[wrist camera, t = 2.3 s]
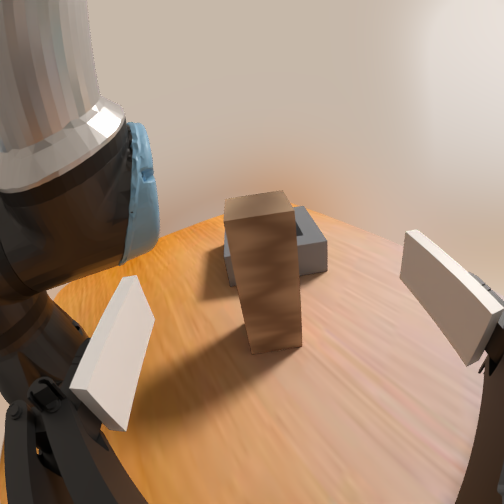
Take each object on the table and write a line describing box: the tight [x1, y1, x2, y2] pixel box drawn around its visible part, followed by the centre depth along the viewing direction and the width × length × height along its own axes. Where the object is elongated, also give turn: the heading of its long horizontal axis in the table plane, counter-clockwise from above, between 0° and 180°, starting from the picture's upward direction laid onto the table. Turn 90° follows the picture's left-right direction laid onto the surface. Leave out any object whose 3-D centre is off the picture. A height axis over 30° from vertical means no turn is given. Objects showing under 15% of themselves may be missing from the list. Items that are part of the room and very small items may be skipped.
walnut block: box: [224, 191, 302, 354], centre depth 25 cm, size 5×5×14 cm
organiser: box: [224, 206, 327, 287], centre depth 41 cm, size 13×13×4 cm
